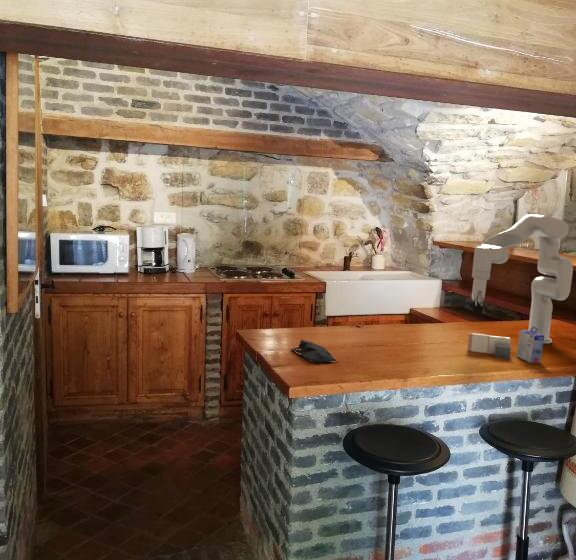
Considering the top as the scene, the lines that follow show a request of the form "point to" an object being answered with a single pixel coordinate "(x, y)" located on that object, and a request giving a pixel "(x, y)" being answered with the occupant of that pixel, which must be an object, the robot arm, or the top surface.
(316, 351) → the dark fabric pouch
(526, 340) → the ink cartridge box
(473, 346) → the grey flat block
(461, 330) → the top surface
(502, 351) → the ticket holder
